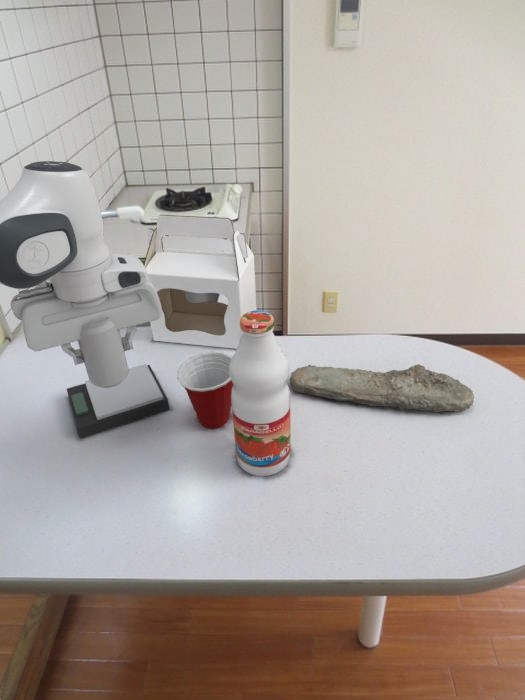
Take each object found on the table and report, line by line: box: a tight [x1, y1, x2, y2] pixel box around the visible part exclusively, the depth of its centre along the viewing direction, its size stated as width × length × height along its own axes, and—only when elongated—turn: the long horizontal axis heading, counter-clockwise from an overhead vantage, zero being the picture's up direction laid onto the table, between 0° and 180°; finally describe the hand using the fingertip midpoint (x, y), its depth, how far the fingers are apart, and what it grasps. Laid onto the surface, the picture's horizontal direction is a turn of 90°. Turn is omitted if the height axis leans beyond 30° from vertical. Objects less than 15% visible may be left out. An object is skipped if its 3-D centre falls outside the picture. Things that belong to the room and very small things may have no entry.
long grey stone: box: [288, 363, 475, 413], centre depth 102 cm, size 35×5×10 cm
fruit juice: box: [229, 309, 292, 477], centre depth 83 cm, size 9×9×28 cm
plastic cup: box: [176, 351, 233, 430], centre depth 96 cm, size 11×11×12 cm
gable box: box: [143, 214, 257, 350], centre depth 117 cm, size 22×13×28 cm, turn 77°
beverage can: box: [77, 318, 130, 388], centre depth 82 cm, size 6×6×12 cm
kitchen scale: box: [66, 363, 170, 439], centre depth 103 cm, size 17×13×3 cm
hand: (104, 354), depth 83 cm, fingers closed on beverage can, 6 cm apart
